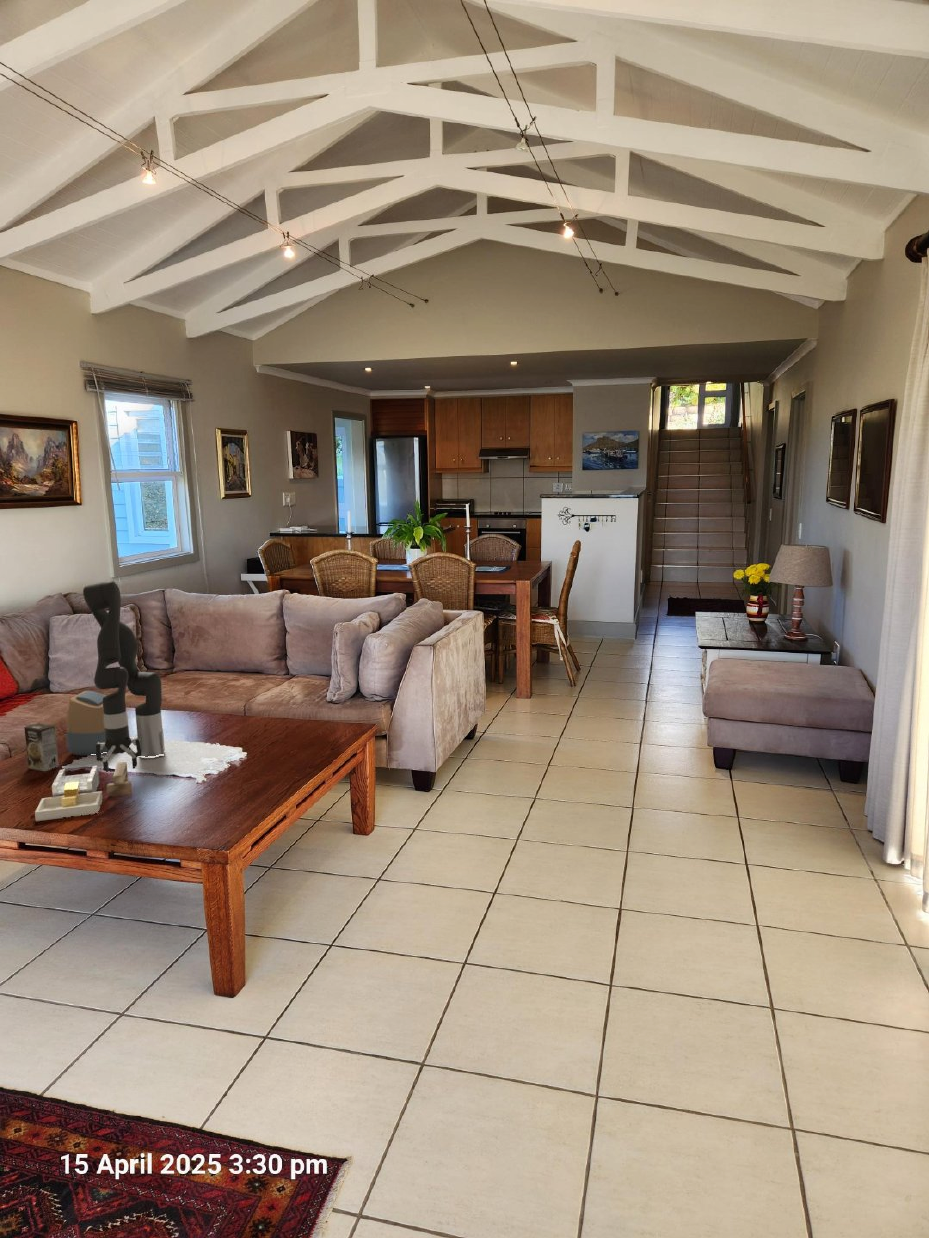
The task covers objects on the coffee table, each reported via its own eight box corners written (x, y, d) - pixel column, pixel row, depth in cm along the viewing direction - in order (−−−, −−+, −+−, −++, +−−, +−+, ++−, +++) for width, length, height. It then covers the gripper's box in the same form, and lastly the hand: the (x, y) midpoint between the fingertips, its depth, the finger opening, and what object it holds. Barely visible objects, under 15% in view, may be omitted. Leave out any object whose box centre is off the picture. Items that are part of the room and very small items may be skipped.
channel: (99, 782, 282) (97, 765, 281) (93, 799, 267) (91, 781, 266) (61, 787, 278) (60, 769, 277) (53, 804, 263) (51, 785, 262)
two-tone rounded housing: (106, 757, 309) (101, 699, 305) (64, 757, 310) (58, 699, 306) (125, 743, 326) (120, 688, 322) (85, 743, 326) (79, 688, 322)
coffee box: (27, 768, 298) (23, 727, 295) (43, 762, 304) (38, 722, 301) (44, 771, 294) (40, 729, 291) (59, 766, 300) (55, 724, 297)
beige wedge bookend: (107, 796, 269) (105, 777, 268) (112, 782, 282) (110, 763, 281) (131, 794, 271) (129, 774, 270) (135, 779, 285) (133, 761, 283)
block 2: (77, 793, 261) (75, 797, 257) (78, 804, 261) (76, 809, 257) (63, 794, 259) (61, 799, 256) (64, 806, 260) (62, 811, 256)
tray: (102, 799, 267) (101, 791, 266) (98, 813, 256) (97, 804, 255) (43, 806, 262) (42, 798, 261) (35, 821, 250) (34, 812, 250)
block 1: (80, 791, 265) (78, 781, 264) (78, 798, 261) (77, 788, 260) (67, 793, 264) (65, 783, 262) (65, 800, 260) (63, 790, 259)
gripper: (139, 719, 278) (143, 763, 281) (94, 723, 273) (99, 768, 276) (137, 725, 271) (142, 770, 274) (92, 730, 266) (97, 776, 269)
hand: (120, 769), depth 275 cm, fingers open, 8 cm apart
